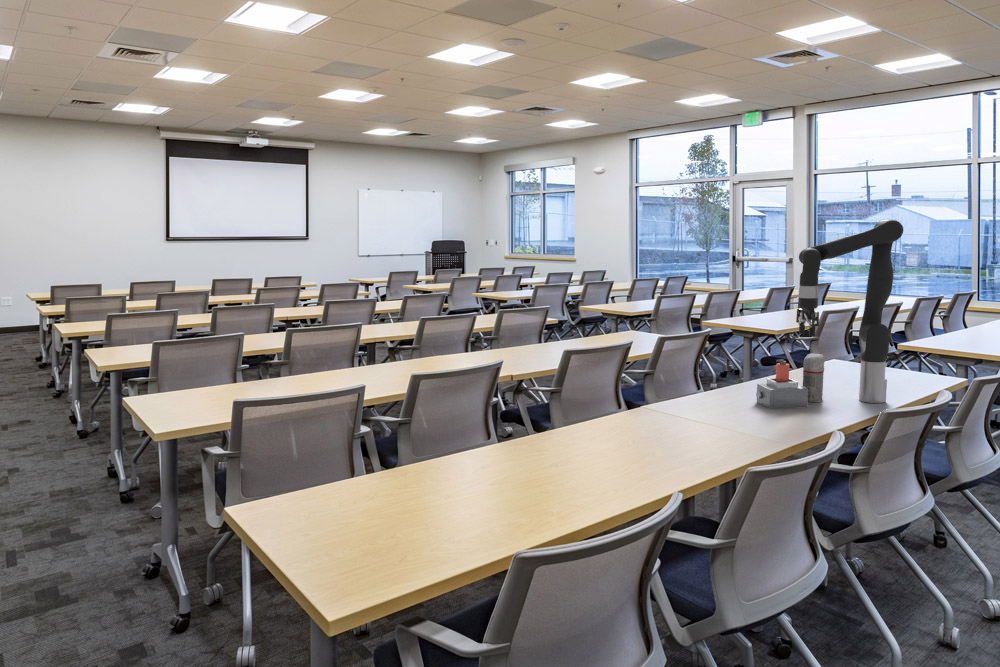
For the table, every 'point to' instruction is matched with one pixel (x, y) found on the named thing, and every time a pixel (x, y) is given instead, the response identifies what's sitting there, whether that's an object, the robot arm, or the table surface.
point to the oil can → (782, 371)
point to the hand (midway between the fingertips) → (806, 334)
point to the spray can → (813, 376)
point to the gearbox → (782, 394)
